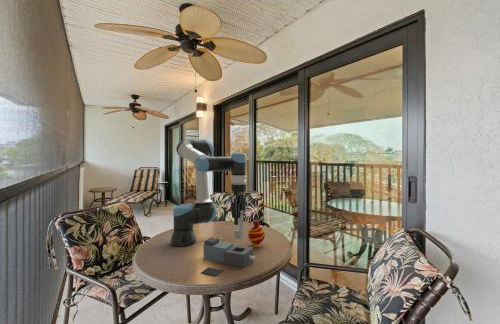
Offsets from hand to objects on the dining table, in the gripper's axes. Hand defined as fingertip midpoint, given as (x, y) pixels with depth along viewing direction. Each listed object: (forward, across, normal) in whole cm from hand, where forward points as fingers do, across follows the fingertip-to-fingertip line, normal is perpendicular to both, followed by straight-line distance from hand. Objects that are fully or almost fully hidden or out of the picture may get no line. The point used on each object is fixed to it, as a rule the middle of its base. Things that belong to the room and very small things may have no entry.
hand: (238, 229), depth 129 cm
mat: (+16, -16, +6) cm, 23 cm away
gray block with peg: (+4, 0, 0) cm, 4 cm away
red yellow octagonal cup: (+16, +25, 0) cm, 30 cm away
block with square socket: (+16, 0, +6) cm, 17 cm away
